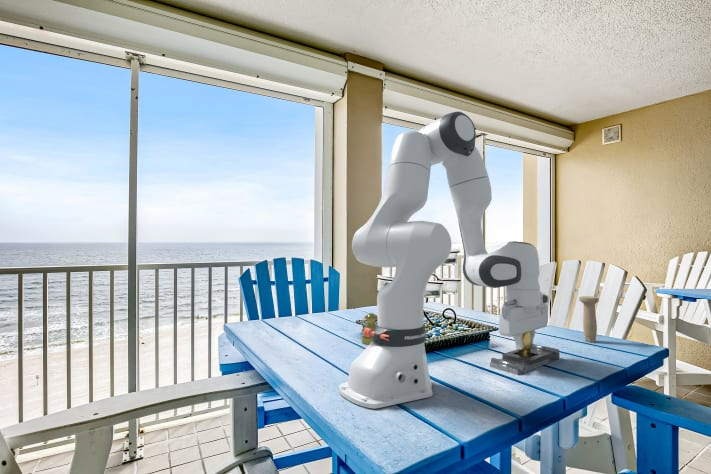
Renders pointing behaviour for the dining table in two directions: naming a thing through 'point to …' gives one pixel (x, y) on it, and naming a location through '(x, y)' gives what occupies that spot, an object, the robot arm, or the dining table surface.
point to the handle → (589, 317)
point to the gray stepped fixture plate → (514, 365)
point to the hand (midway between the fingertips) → (524, 347)
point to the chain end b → (534, 355)
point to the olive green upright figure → (371, 325)
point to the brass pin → (526, 345)
